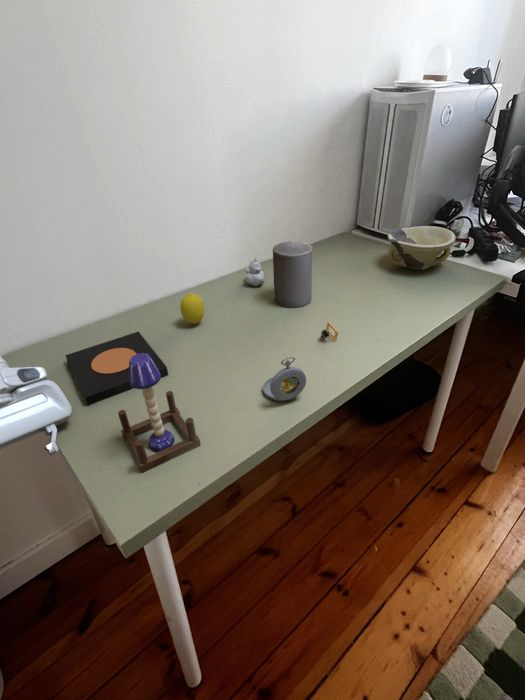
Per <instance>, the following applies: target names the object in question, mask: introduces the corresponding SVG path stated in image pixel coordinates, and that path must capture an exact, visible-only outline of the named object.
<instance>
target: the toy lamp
mask: <svg viewBox="0 0 525 700" xmlns="http://www.w3.org/2000/svg"><path fill="white" fill-rule="evenodd" d="M160 381H161V374H160V372H159V370H158V368H157V367H156V365H155V363H154V362H153V360H152V358H151V357H150V356H149V355H148V354H146V353H139V354H136V355H134V356H132V357H131V358H130V361H129V383H130V385H131V386H132V387H133V389H137V390H142V392H141V393H142V397H143V398H144V404H145V406H146V411H147V413H148V419H150V420H151V425H152V427H153V429H152V431H153V432H152V433H151V434H150V436H149V437H148V442H147V443H148V447H149V449H150V450H151V451H153V452H155V453H157V452H159V451H162V450H164V449H166V448H168V447H170V446H173V445H174V444H175V436H174V434H173V433H172V432H171V431H170V430H168V429H165V427H164V426H163V425H164V424H163V423H162V420H161V419H160V418H161V416H160V414H161V413H160V411H159V405H158V403H157V398H156V396H155V390H154V388H153V387H155V385H158V383H159V382H160Z"/></svg>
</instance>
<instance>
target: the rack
mask: <svg viewBox="0 0 525 700" xmlns="http://www.w3.org/2000/svg"><path fill="white" fill-rule="evenodd" d="M165 397H166V403H167V406H168V410H167V411H164V412H162V413H160V416H161V418H160V419H161V420H162V423H163V425H165V424H168V423H170V422H172V421H173V423H174V424H175V426H176V428H177V429H178V430H179V432H180V433H181V434H182V436H183V438H184V439H183V440H181V441H179V442H177V443H174V444H173V445H172V446H170V447H168V448H166V449H164V450H162V451H159V452H155V453H153V454H151V455H149V456H147V451H146V449H145V445H144V442H143V439H137V437H138V436H140V435H142V434H144V433H147V432H149V431H152V430H153V427H152V425H151V420H150V418H148V419H145V420H142V421H140V422H138V423H136V424H133V425H130V421H129V417H128V415H127V412H126V410H125V409H120V410H119V411H118V412H117V414H118V419H119V421H120V423H121V428H122V430H120V432H121V435H122V437H123V440H124V441H125V442H127V443H128V445H129V447H130V449H131V450H132V453H133V455H134V457H135V459H136V463H137V466H138V469H139V471H140V473H141V474H143V473H145V472H147V471H149V470H151V469H153V468H155V467H158V466H160V465H161V464H164V463H167V462H168V461H170V460H172V459H174V458H177V457H179V456H181V455H183V454H185V453H187V452H189V451H192V450H194V449H195V448H198V447H200V446H202V445H201V440H200V437H199V436H198V434H197V432H196V427H195V422H194V419H193V418H192V417H187V418H186V419H185V420H184V418H183V417H182V415H181V413H180V410H179V409H178V407H177V406H176V400H175V396H174V392H173V391H172V390H168V391H166V392H165Z"/></svg>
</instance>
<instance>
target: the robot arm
mask: <svg viewBox="0 0 525 700" xmlns="http://www.w3.org/2000/svg"><path fill="white" fill-rule="evenodd" d="M47 378H48V374H47V371H46V369H45V368H44V367H42V366H26V367H23V366H22V367H10V366H9V364H8V362H7V361H6V360H5V359H4V358H3V357H2V355H0V450H2V449H4V448H7V447H9V446H11V445H13V444H15V443H18V442H21V441H23V440H26V439H28V438H30V437H33V436H35V435H37V434H40V433H42V432H44V434H45V436H46V437H49V443H48V444H46V445H45V447H44V450H45V451H46V452H47V453H48V454H49V455H50V456H52V455H54V454H55V453H57V452H59V451H60V449H59V447H58V445H57V443H56V442H57V434H58V433H57V432H58V428H57V426H59V425H61V424H64V423H66V422H68V421H69V420H70V418H71V416H72V414H73V407H72V406H71V405H72V404H71V403H70V401H69V400H68V398H67V396H66V395H65V393H64V392H63V390H62V389H61V387H59V385H58V384H57V383H56V382H55V381H52V380H49V379H47Z"/></svg>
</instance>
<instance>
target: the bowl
mask: <svg viewBox="0 0 525 700" xmlns="http://www.w3.org/2000/svg"><path fill="white" fill-rule="evenodd" d="M456 237H457V236H456V235H455V233H454V232H453V231H451V230H449V229H447V228H445V227H440V226H433V225H432V226H431V225H420V226H419V225H418V226H410V227H402V228H398V229H396V230H393V231H391V232H390V233H388V235H387V239H388V242H389V243H390V245H389V248H388V250H387V259H388V260H389V262H390V263H392V264H394V265H396V266H399V267H403V268H406V269H408V270H411V271H421V270H422V271H423V270H427V269H430V268H431V267H433V266H437V265H439V264H441V263H443V262H444V261H446V260H447V259H448V258H449V256H450V255H451V246H453V245H454V243H455V241H456V239H457V238H456ZM396 251H397V253H398V254H399V258H395V257H394V254H395V252H396Z"/></svg>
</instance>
